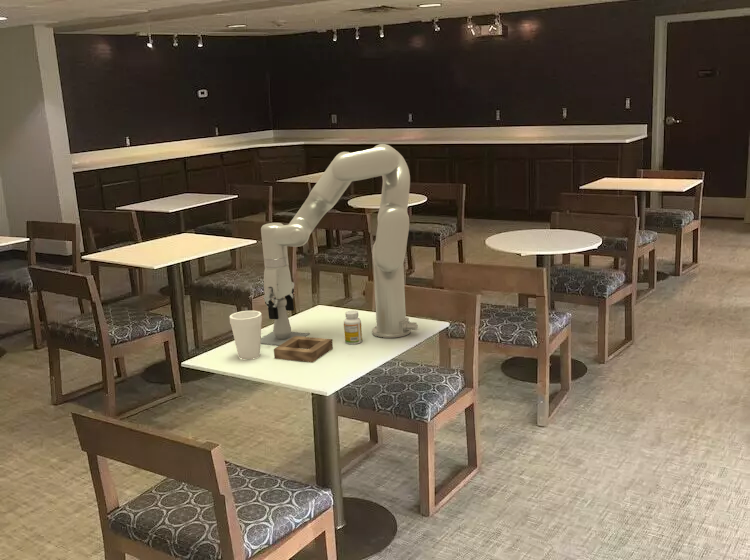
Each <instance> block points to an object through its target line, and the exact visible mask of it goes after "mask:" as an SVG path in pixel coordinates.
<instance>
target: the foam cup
mask: <svg viewBox="0 0 750 560" xmlns="http://www.w3.org/2000/svg"><path fill="white" fill-rule="evenodd" d="M262 315H263V313H262V312H261V311H258V310H241V311H237V312H233V313H231V314H230V315H229V325H230V326H231V330H232V335H233V339H234V343H235V347H236V352H237V356H238V358H239V357H240V358H242V359H241V360H243V359H250V360H254V359H253V358H255V359H258V358H259V357H260V356H261V345H262V344H261V338H262V322H263V316H262ZM240 358H239V359H240Z"/></svg>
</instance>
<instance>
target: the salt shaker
mask: <svg viewBox="0 0 750 560" xmlns="http://www.w3.org/2000/svg"><path fill="white" fill-rule="evenodd" d="M272 302H274V300H272ZM286 305H287V301H286V299H285V297H283V298H281V299H279V300H278V301H277V305H276V307H278V317H279V319H273V329H272V332H273V333H274V335H275V336H276V338H277V339H281V340H283V339H288V337H289V336H290V333H291V332H292V327H291V323H290V319H289V316H288V312H287V310H286V308H285V306H286Z"/></svg>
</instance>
